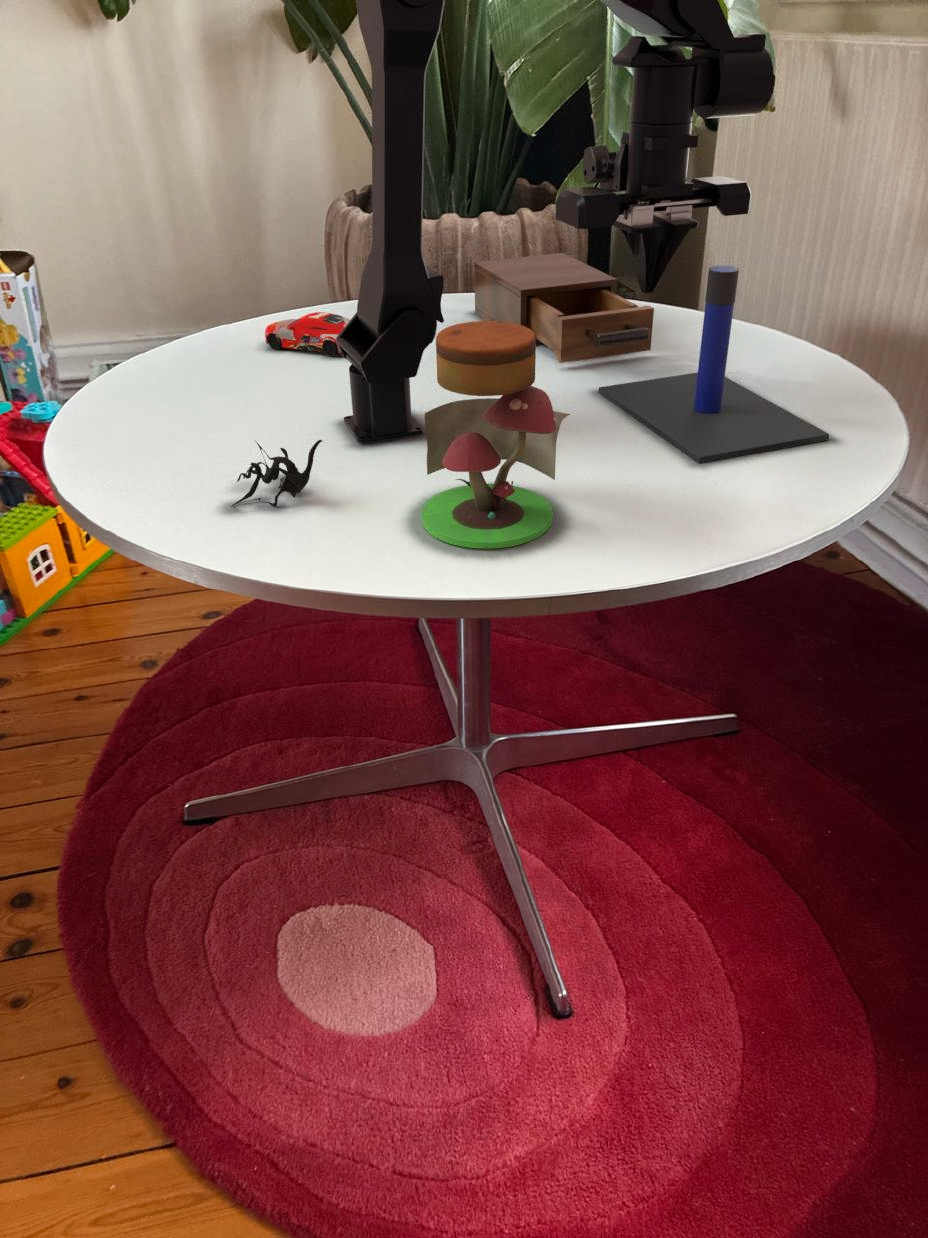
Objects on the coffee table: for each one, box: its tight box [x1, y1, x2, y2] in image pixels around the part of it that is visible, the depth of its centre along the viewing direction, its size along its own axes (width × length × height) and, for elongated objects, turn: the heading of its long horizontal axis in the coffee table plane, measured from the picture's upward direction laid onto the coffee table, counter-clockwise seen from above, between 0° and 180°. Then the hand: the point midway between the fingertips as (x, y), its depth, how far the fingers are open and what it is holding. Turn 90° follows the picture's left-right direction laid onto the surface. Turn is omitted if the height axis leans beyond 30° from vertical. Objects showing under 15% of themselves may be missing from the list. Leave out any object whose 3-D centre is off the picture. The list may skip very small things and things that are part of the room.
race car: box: [264, 311, 351, 357], centre depth 117 cm, size 13×5×4 cm, turn 66°
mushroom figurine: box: [421, 320, 571, 550], centre depth 75 cm, size 12×13×15 cm
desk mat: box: [597, 372, 830, 464], centre depth 97 cm, size 20×14×1 cm
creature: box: [230, 439, 324, 508], centre depth 82 cm, size 8×5×8 cm
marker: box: [694, 265, 740, 414], centre depth 93 cm, size 3×3×14 cm
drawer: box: [526, 287, 655, 364], centre depth 113 cm, size 18×11×5 cm, turn 20°
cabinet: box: [473, 252, 618, 345], centre depth 123 cm, size 16×13×7 cm
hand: (646, 292), depth 99 cm, fingers closed
